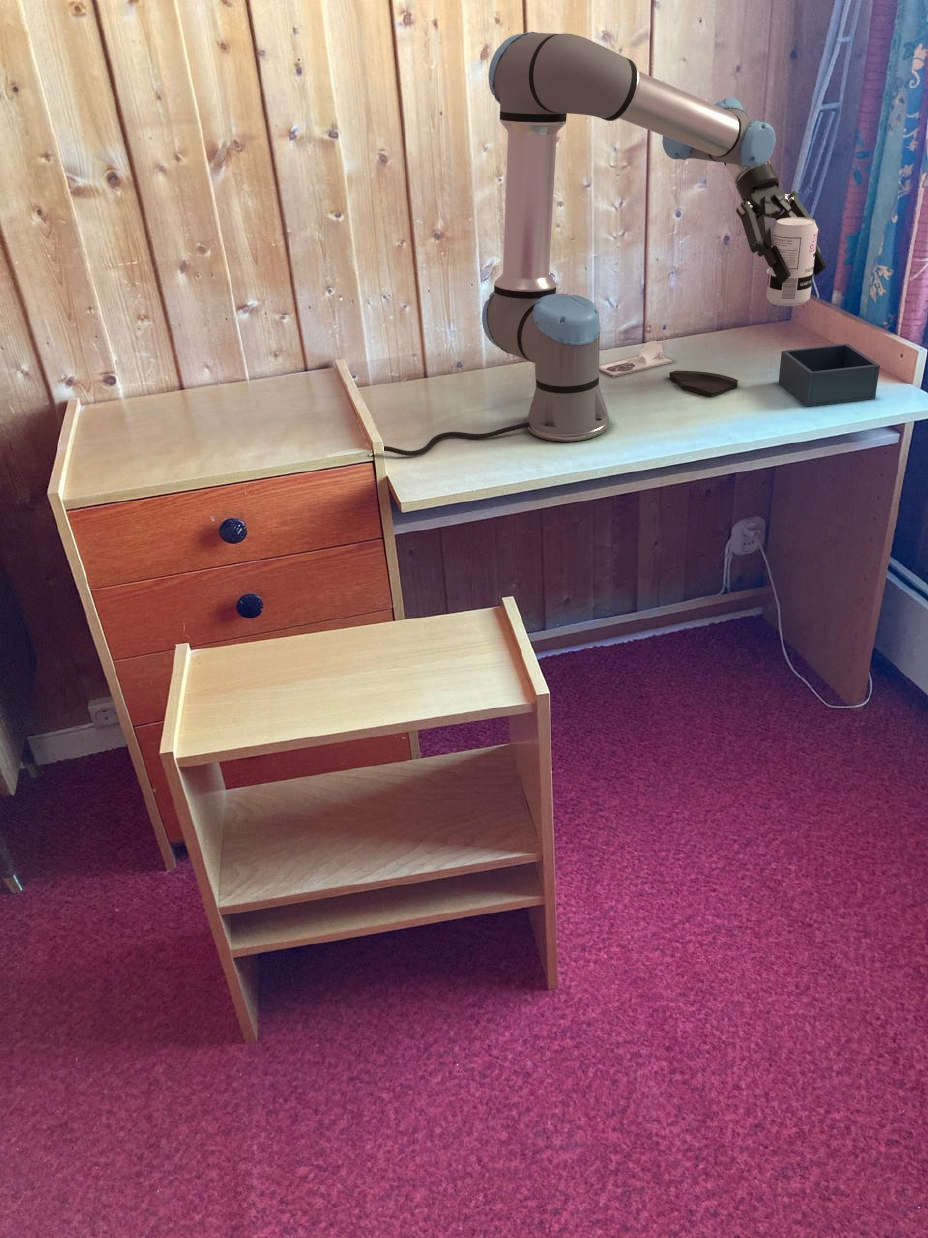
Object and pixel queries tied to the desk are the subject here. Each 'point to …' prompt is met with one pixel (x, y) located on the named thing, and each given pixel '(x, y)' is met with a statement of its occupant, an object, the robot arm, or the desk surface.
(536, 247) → the robot arm
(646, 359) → the white plate with bracket
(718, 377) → the fan shaped piece
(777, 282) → the supplement can
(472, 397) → the desk surface
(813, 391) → the bin
